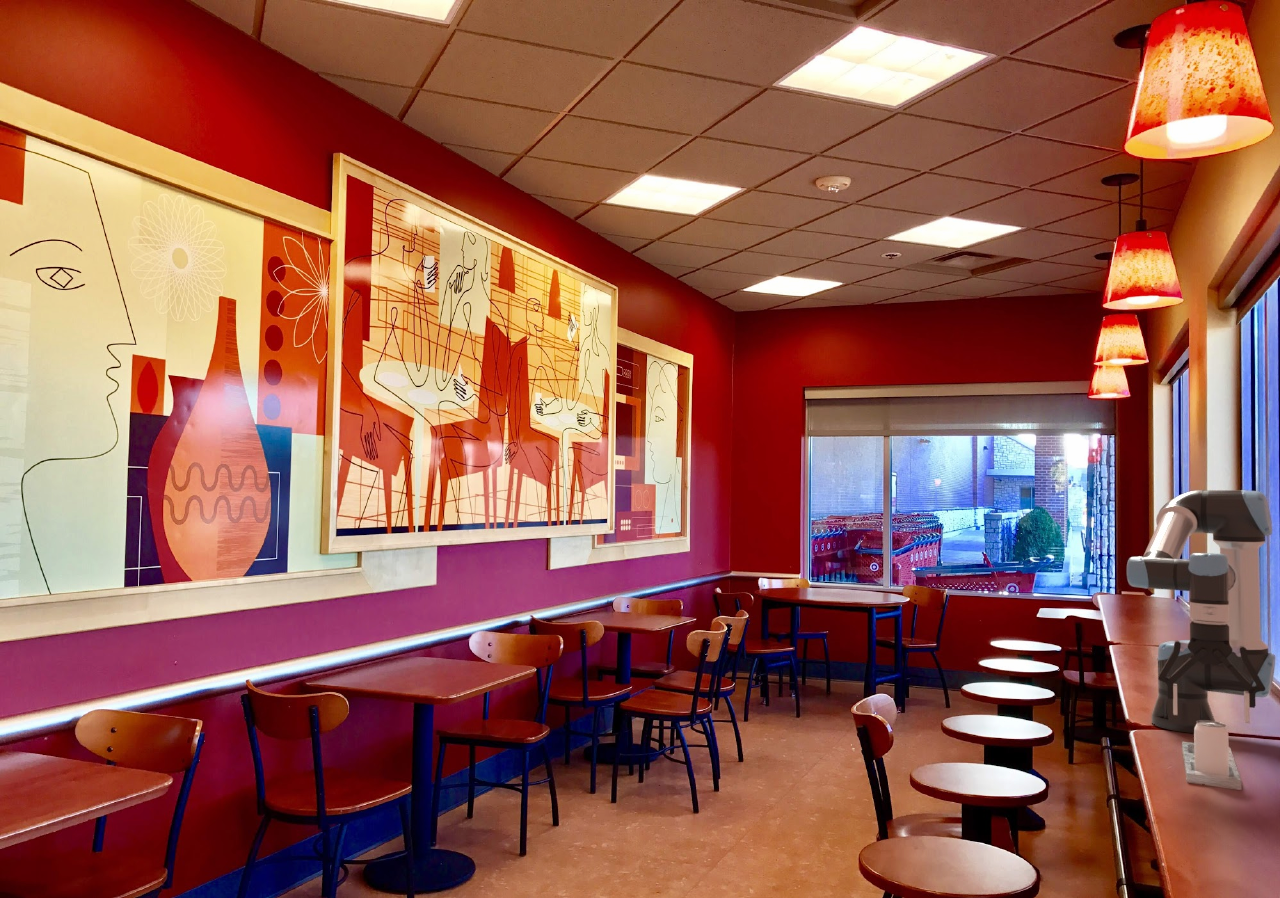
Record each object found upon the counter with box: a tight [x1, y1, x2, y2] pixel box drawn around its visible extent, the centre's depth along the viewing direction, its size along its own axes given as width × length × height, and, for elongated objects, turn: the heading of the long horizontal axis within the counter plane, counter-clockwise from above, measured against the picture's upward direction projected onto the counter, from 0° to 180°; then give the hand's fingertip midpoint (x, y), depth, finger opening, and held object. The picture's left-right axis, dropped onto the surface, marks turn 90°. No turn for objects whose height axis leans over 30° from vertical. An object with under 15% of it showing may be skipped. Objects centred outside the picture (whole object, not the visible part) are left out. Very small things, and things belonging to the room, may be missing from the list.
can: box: [1193, 720, 1230, 775], centre depth 202 cm, size 6×6×12 cm
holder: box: [1181, 741, 1242, 791], centre depth 209 cm, size 30×10×2 cm, turn 151°
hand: (1210, 718), depth 202 cm, fingers open, 13 cm apart
